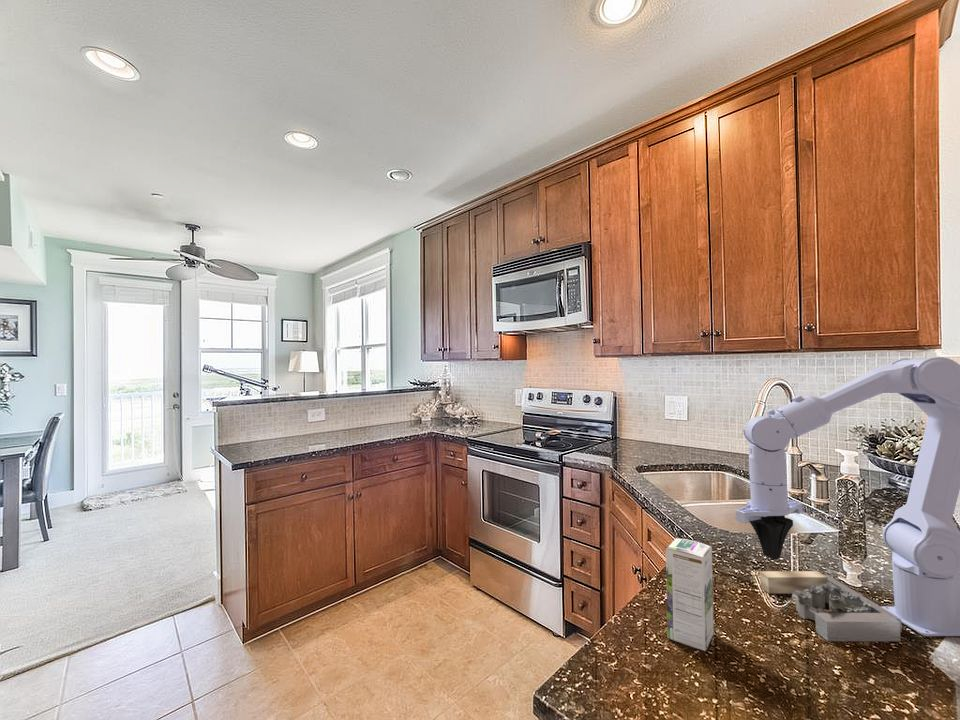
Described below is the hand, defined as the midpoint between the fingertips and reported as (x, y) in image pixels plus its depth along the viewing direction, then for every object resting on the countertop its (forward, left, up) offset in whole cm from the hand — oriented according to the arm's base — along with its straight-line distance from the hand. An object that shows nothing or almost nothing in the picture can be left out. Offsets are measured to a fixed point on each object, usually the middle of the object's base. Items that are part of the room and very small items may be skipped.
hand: (771, 557), depth 78 cm
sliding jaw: (-7, -5, -8) cm, 12 cm away
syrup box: (+19, +10, -9) cm, 23 cm away
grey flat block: (-8, +2, -8) cm, 12 cm away
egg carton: (-7, +4, -9) cm, 12 cm away
